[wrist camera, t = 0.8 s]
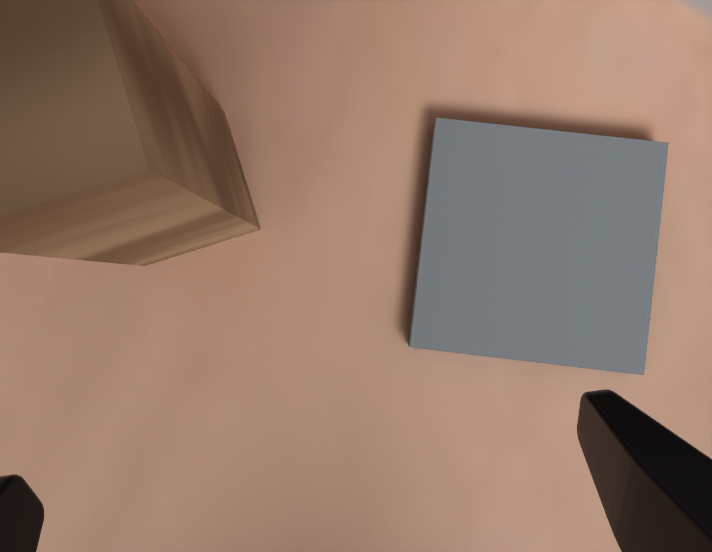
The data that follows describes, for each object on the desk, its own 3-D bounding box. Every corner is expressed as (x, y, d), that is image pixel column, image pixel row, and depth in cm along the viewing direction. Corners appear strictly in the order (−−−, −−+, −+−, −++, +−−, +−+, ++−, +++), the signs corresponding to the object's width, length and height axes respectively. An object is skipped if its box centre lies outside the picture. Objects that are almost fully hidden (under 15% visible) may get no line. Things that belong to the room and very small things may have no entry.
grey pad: (633, 371, 21) (643, 374, 20) (408, 345, 21) (409, 347, 20) (657, 148, 21) (668, 142, 20) (433, 123, 21) (436, 117, 21)
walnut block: (260, 229, 22) (149, 168, 11) (144, 265, 22) (-87, 244, 11) (224, 113, 22) (78, -66, 11) (109, 150, 22) (-155, 10, 11)
